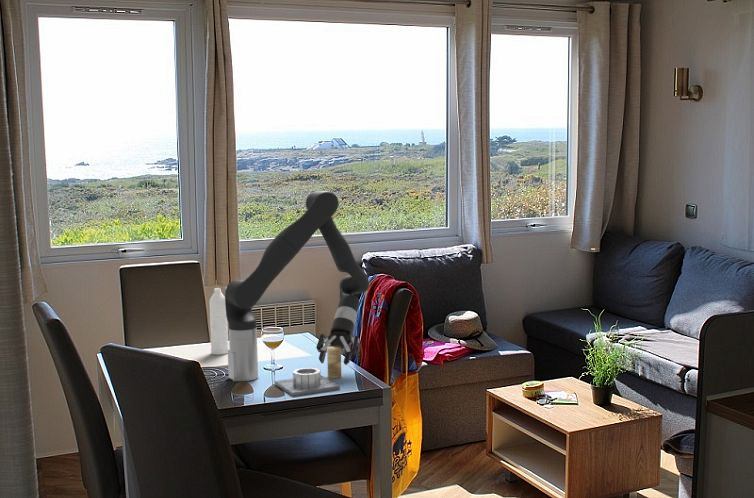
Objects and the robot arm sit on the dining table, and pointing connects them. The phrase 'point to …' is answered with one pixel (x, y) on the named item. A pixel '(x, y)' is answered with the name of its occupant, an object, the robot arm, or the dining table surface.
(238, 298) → the robot arm
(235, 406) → the dining table surface
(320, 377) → the socket board
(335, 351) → the plug
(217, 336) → the water bottle
